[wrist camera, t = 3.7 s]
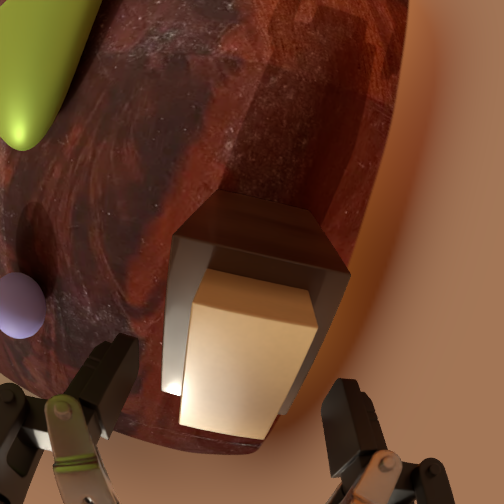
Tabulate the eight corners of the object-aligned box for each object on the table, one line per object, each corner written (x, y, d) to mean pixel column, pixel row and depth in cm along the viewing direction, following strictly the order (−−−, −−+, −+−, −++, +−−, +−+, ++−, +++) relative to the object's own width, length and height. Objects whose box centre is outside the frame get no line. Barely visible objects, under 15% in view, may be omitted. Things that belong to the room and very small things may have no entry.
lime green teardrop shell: (-3, -37, 4) (-42, 167, 12) (118, -84, 6) (66, 149, 14) (33, -17, 10) (7, 150, 19) (136, -45, 13) (105, 138, 21)
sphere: (66, 316, 26) (32, 353, 19) (32, 317, 26) (0, 349, 20) (41, 257, 23) (-2, 287, 17) (9, 266, 24) (-29, 293, 17)
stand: (217, 188, 21) (172, 234, 10) (309, 210, 21) (352, 274, 11) (198, 294, 24) (160, 391, 14) (278, 311, 24) (286, 415, 14)
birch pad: (206, 267, 11) (191, 301, 8) (308, 289, 11) (319, 327, 9) (188, 387, 13) (178, 424, 11) (264, 402, 13) (264, 440, 11)
